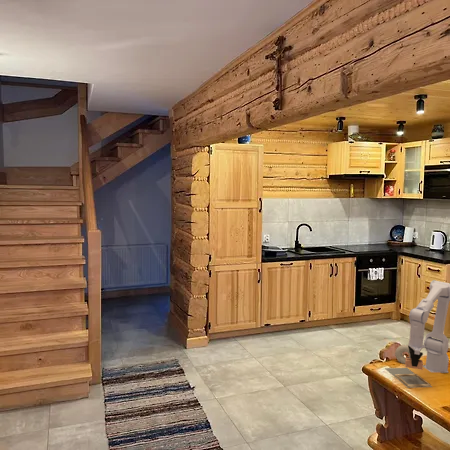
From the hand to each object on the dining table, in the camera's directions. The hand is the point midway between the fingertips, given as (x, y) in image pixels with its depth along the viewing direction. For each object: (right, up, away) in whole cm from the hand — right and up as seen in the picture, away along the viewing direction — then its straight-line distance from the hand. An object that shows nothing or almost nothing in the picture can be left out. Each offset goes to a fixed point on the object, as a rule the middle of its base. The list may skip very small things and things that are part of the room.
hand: (413, 364), depth 198 cm
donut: (+5, -7, +21) cm, 23 cm away
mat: (-1, -8, +5) cm, 10 cm away
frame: (0, -9, +1) cm, 9 cm away
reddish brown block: (0, -1, 0) cm, 1 cm away
